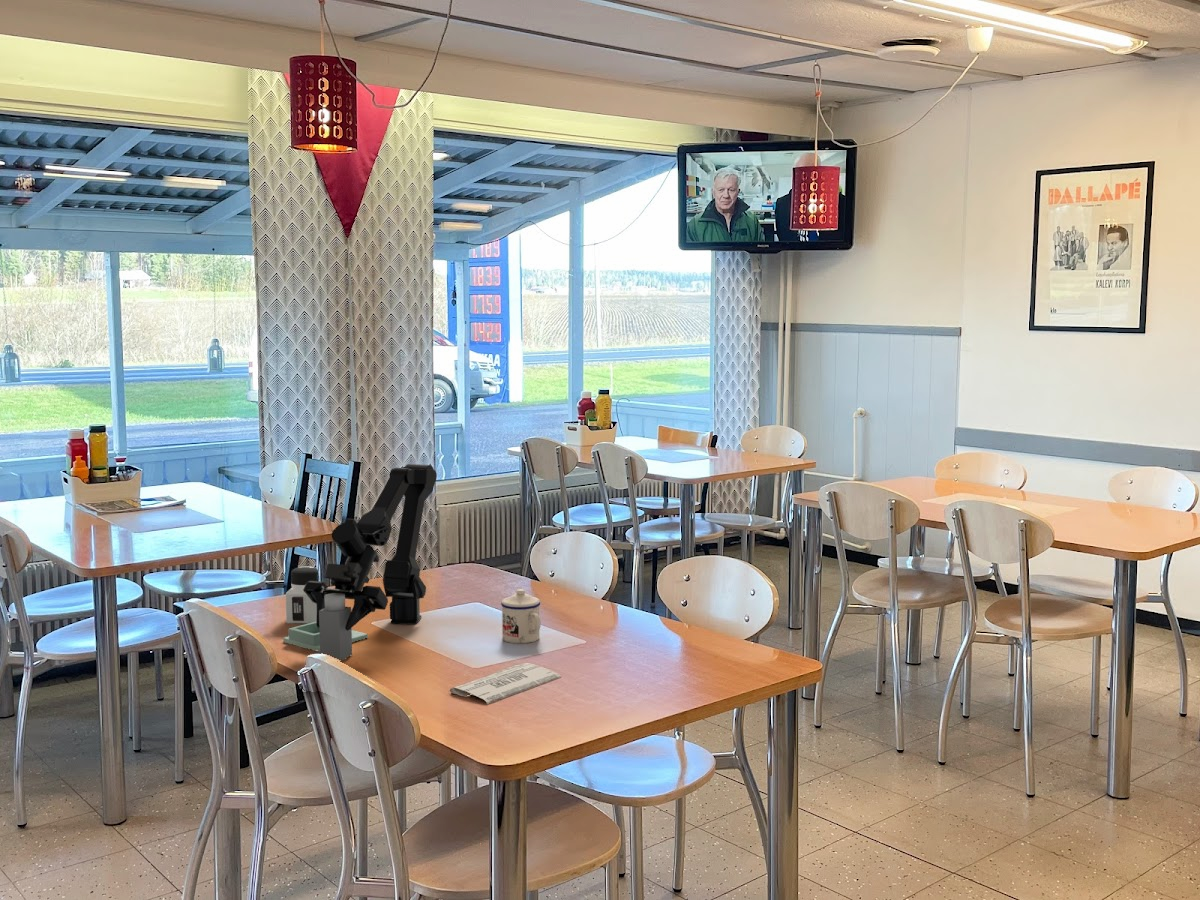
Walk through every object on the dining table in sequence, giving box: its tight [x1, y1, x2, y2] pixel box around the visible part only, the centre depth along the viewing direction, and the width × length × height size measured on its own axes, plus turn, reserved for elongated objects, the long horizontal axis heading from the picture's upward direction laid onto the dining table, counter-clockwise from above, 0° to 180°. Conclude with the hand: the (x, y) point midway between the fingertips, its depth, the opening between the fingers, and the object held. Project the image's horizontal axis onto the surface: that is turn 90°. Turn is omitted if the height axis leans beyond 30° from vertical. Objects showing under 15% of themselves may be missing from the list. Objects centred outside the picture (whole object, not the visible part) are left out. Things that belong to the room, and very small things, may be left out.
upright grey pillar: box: [319, 593, 353, 662], centre depth 255 cm, size 5×5×14 cm
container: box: [285, 566, 320, 624], centre depth 286 cm, size 8×8×13 cm
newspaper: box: [449, 662, 562, 705], centre depth 238 cm, size 23×12×2 cm, turn 141°
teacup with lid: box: [500, 588, 542, 644], centre depth 269 cm, size 12×9×12 cm
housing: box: [282, 622, 369, 653], centre depth 269 cm, size 14×13×4 cm
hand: (332, 628), depth 254 cm, fingers open, 7 cm apart
